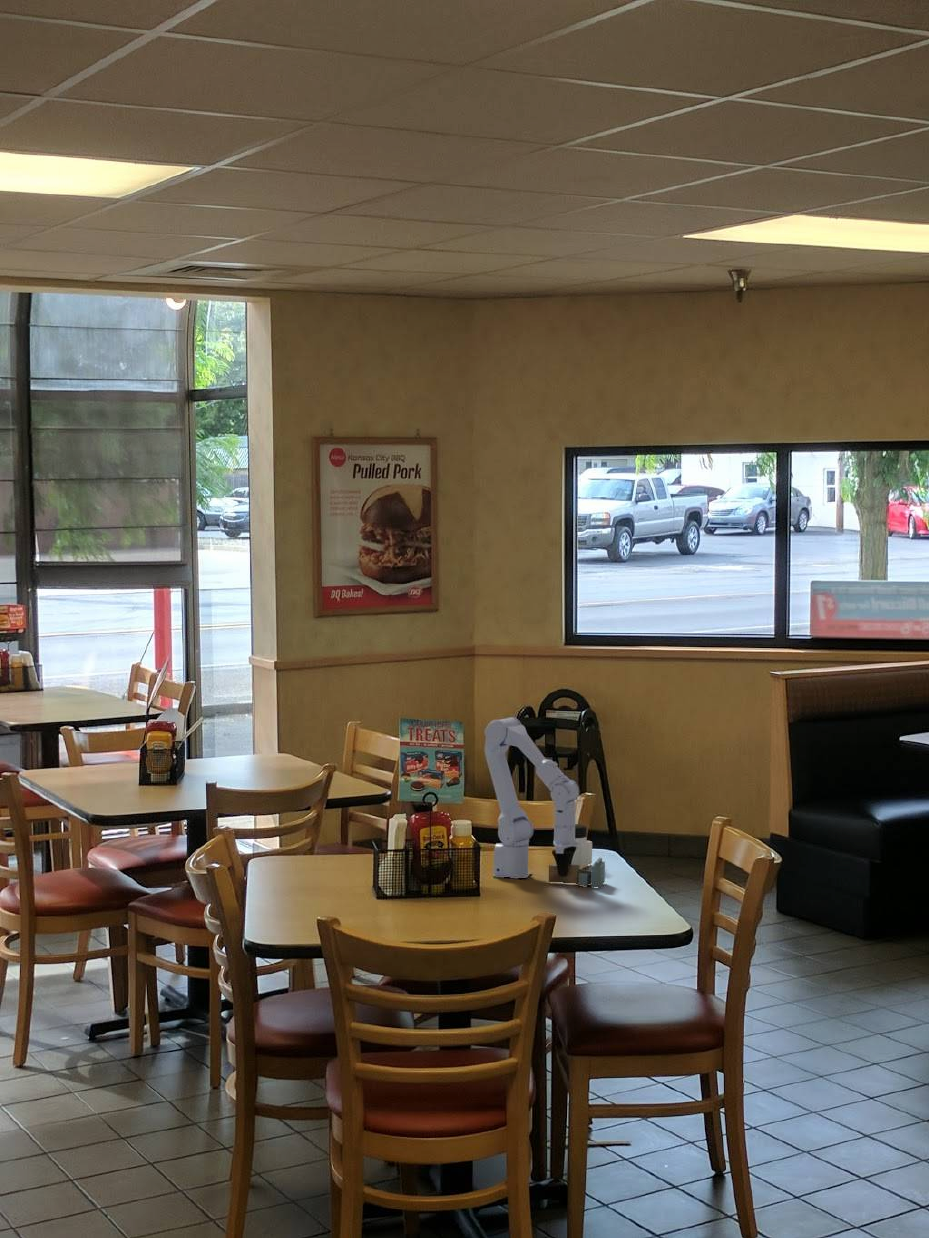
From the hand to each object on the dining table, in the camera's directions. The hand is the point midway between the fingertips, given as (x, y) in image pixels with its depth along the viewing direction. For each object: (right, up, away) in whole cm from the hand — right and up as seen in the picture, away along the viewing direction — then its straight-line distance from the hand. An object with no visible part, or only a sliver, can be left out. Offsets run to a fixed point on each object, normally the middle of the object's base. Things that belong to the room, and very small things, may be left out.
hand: (564, 874), depth 398 cm
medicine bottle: (+5, -2, +22) cm, 22 cm away
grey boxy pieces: (+7, -3, -2) cm, 8 cm away
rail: (+2, -2, 0) cm, 3 cm away
